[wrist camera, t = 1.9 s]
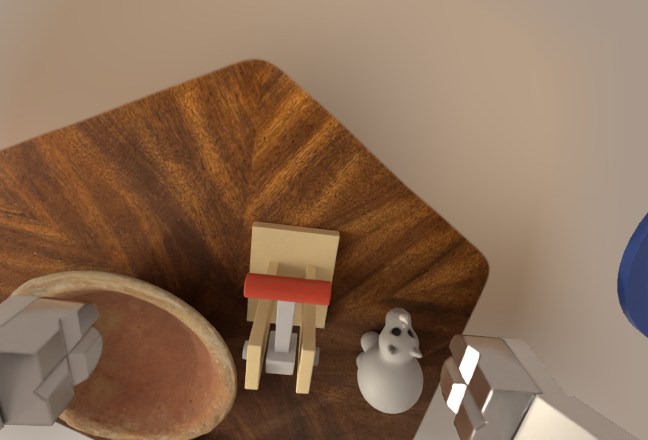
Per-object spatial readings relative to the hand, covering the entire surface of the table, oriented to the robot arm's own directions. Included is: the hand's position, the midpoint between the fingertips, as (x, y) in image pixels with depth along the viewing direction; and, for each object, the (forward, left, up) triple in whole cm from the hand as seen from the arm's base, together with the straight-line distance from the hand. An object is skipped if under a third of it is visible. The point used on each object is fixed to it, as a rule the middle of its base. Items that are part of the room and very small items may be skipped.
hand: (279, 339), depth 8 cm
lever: (0, +10, -14) cm, 18 cm away
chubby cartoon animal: (-12, +22, -27) cm, 37 cm away
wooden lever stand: (0, +15, -27) cm, 31 cm away
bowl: (+16, +24, -27) cm, 40 cm away
